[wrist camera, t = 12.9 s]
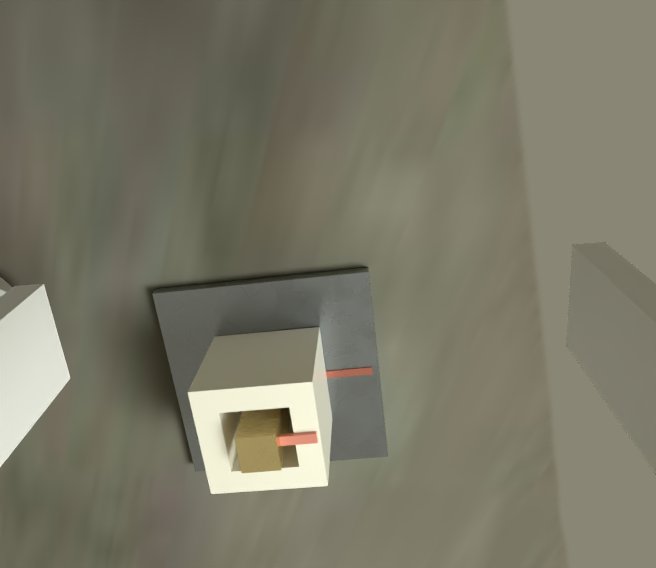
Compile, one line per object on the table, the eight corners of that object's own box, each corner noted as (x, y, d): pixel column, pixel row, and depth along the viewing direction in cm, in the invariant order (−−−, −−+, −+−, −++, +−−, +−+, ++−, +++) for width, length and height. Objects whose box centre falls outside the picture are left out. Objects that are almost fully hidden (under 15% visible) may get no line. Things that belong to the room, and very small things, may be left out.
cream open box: (233, 426, 50) (210, 496, 42) (214, 336, 47) (186, 394, 39) (332, 418, 49) (327, 488, 41) (319, 326, 46) (312, 384, 39)
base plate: (197, 463, 53) (162, 560, 43) (156, 288, 47) (104, 354, 37) (387, 448, 51) (395, 544, 42) (368, 267, 46) (372, 329, 36)
